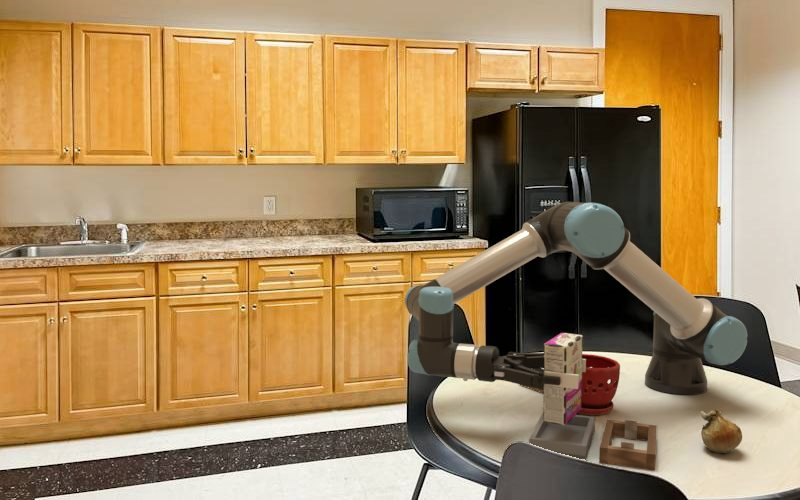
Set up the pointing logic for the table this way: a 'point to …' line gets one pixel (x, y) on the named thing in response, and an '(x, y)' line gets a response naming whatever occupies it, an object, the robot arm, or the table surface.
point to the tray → (565, 436)
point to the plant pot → (599, 384)
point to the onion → (720, 433)
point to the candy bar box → (563, 358)
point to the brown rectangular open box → (628, 444)
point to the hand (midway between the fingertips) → (582, 373)
